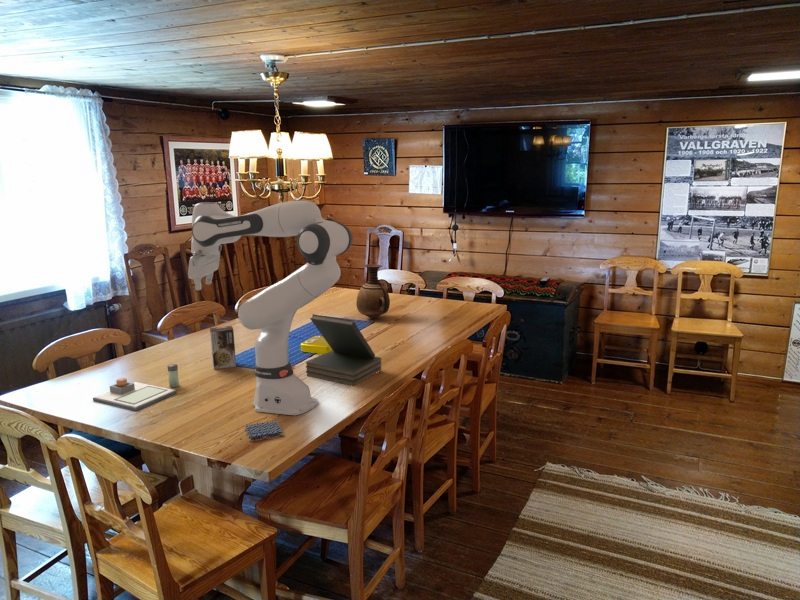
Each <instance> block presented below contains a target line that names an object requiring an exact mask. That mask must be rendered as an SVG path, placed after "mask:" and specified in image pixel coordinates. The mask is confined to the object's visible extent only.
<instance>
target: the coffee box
mask: <svg viewBox="0 0 800 600" xmlns="http://www.w3.org/2000/svg"><path fill="white" fill-rule="evenodd" d="M209 331H210V335H209V336H210V344H211V357H212V359H211V360H212V367H213V370H219V369H227V368H228V369H229V368H234V367H235V368H236V367H237V359H236V357H237V356H236V348H235V335H234V333H235V331H234V328H233V326H232V325H229V326H226V325H225V326H218V327H210V328H209Z"/></svg>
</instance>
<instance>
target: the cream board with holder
mask: <svg viewBox="0 0 800 600" xmlns="http://www.w3.org/2000/svg"><path fill="white" fill-rule="evenodd" d="M175 394H178V391H177V390H176V389H172V388H167V387H163V386H159V385H152V384H148V383H143V382H138V381H134V382H131V381H130V382H129V381H127V385H126V386H124V387H117V383H114V384H111V385H109V391H108V392H105V393H102V394H100V395H97V396H95V397H92V401H93V402H97V403H99V404H100V403H101V404H105V405H110V406H113V407H117V408H121V409H127V410H130V411H131V410H132V411H134V412H137V411H140V410H141V409H144V408H146V407H149V406H150V405H153V404H155V403H157V402H159V401H162V400H164V399H166V398H168V397H171V396H173V395H175Z"/></svg>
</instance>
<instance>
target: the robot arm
mask: <svg viewBox="0 0 800 600" xmlns="http://www.w3.org/2000/svg"><path fill="white" fill-rule="evenodd" d="M191 217H192V218H191V235H192V236H191V242H190V243H191V244H190V245H191V248H190V249H191V250H190V252H191V254H192V256H190V257H189V261H188V271H187V275H188V276H187V277H188V279H191V280H193V283H194V289H195V290H196V291H201V290H202V289H203V284H202V282H201V281H202V278H205V277H206V278H205V283H204V284H205V285H208V286H209V285H211V284H212V283H213V282H212V280H213V277H214V272H216V271H217V270H219V267H220V262H221V261H220V260H221V252H222V245H225V244H232V243H236V242H237V241H239V240H240V239H241V238H242V236H255V237H258V236H260V237H271V238H272V237H273V238H287V237H295V236H297V237H296V244H297V248H298V250H299V252H300V254H301V255H302V258H303V260H304V261H305V262H306V263H305V264H304V265H302V266H301V267H299V268H297V269H296V270H295V271H293V272H291V273H290V274H289V275H288V276H286V277H285V278H283V279H280V280H279V281H277V282H275V283H274V284H272V285H269V286H268V287H266V288H265V289H263V290H261V291H260V292H258V293H256V294H255V295H253V296H252V297H250V298H248V299H246V300H245V301H244V302H242V303H241V304H240V305H239V306H238V307H239V308H238V311H237V315H238V320H239V322H240V323H241V325H242V326H243V327H244V328H246V329H248V330H251V331H252V330H253V331H255V330H260V332H259V334H258V336H257V338H256V339H255V342H254V353H255V364H254V374H255V377H256V378H255V379H256V380H255V391H254V398H253V402H252V405H253V406H254V407H255V408H254V409H255V410H254V411H255V412H256V413H257V412H258V413H268V414H277V415H288V416H298V415H302V414H305V413H307V412H308V411H310V410H312V409H314V408H315V407H316V406H317V405H318V403H319V400H318V398H316V397H312V396H311V395H312V394H311V389H310V386H309V385H307V383H305V382H304V381H303V380H302V379H301V378H299V376H297V375H296V374H295V373H294V370H295V369H296V365H293V366H292V364H291V362H290V361H289V360H290V359H289V338H290V333H291V327H292V324H293V323H292V322H293V319H294V317H295V315H296V314H297V311H298V310H299V309H301V308H304V307H305V306H306V305H308V304H309V303H311V302H312V301H314V300H316V299H317V298H319V297H320V296H321V295H323V294H325V293H326V292H327V291H329V290H330V289H331V288H332V287H333V286H334V285H335V284H336V283H338V281H339V280H340V278H341V274H342V273H341V271H342V270H341V268H340V265H339V264H338V262H337V256H340V255H343V254H345V253H346V252H347V251H348V250H349V249H350V248H351V247H352V244H353V241H354V240H353V237H354V236H353V232H352V231H351V229H350V228H349V227H348V226H347V225H345V224H344V223H342V222H339V221H337V220H334V219H332V218H331V217H327V218H326V219H325V218H323V217H322V214H321V210H320V208H319V206H318V205H317V204H316V203H315V202H313V201H310V200H293V201H292V200H290V201H289V200H288V201H285V202H284V201H283V202H280V203H279V202H278V203H275V204H272V205H270V206H269V205H268V206H267V207H264V208H263V207H262V208H260V209H257V210H255V211H251V212H247V213H246V214H242V215H237V216H236V215H232V214H230V213H228V212H226V211H225V210H224V209H222V208H221V207H220V206H219V204H218V203H217V202H213V201H211V202H209V201H208V202H207V201H206V202H198V203H196V204H195V205H194V207H193V210H192V215H191Z"/></svg>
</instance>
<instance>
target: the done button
mask: <svg viewBox="0 0 800 600" xmlns="http://www.w3.org/2000/svg"><path fill="white" fill-rule="evenodd" d="M115 382H116V383H115V384H117V387H124V386H126V385H127V382H128V380H127V378H126V377H125V378H124V377H121V378H118V379H116V380H115Z"/></svg>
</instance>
